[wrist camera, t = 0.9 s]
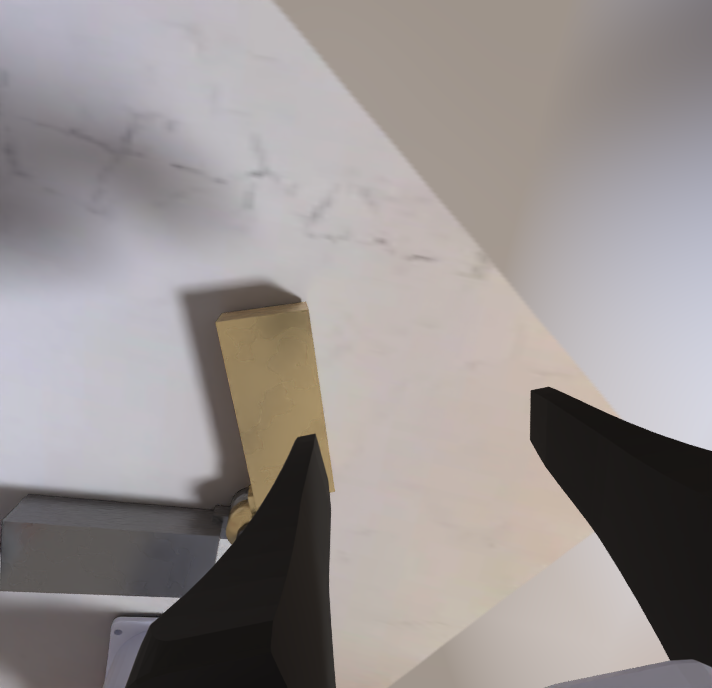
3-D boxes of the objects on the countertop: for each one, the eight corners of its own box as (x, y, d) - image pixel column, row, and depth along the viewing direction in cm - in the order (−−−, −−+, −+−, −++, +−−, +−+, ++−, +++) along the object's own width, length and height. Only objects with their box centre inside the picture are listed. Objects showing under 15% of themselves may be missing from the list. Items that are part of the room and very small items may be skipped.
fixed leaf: (260, 571, 30) (257, 616, 26) (24, 559, 26) (-15, 609, 23) (278, 488, 28) (277, 525, 24) (29, 463, 24) (-13, 502, 21)
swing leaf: (235, 529, 28) (230, 556, 26) (183, 318, 23) (172, 328, 21) (336, 508, 29) (340, 532, 26) (306, 301, 24) (308, 309, 22)
